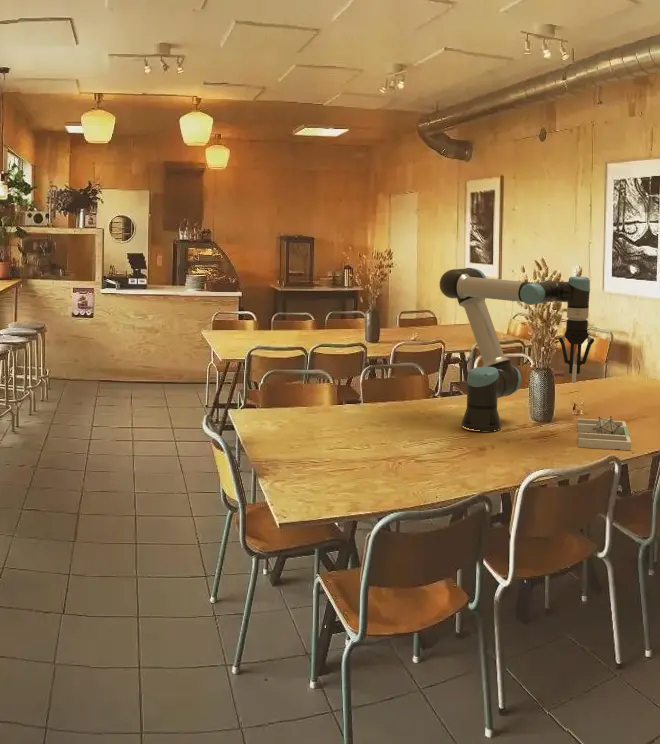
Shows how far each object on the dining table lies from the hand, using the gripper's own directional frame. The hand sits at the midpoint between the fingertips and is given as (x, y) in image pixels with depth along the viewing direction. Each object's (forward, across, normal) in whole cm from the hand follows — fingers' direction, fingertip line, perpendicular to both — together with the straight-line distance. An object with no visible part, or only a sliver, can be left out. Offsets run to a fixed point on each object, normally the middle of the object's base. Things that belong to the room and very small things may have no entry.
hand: (573, 382), depth 304 cm
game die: (+21, +12, 0) cm, 24 cm away
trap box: (+20, +10, 0) cm, 23 cm away
